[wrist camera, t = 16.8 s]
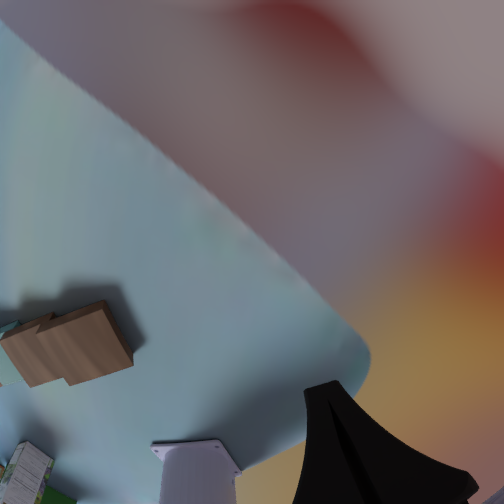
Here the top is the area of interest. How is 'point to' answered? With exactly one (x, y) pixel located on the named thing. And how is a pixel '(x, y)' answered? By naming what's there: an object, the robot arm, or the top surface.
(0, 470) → the cracker box
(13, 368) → the teal tile
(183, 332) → the top surface
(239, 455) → the top surface
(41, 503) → the hardback book
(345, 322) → the top surface
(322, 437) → the robot arm
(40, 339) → the tile
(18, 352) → the tile
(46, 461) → the syrup box
